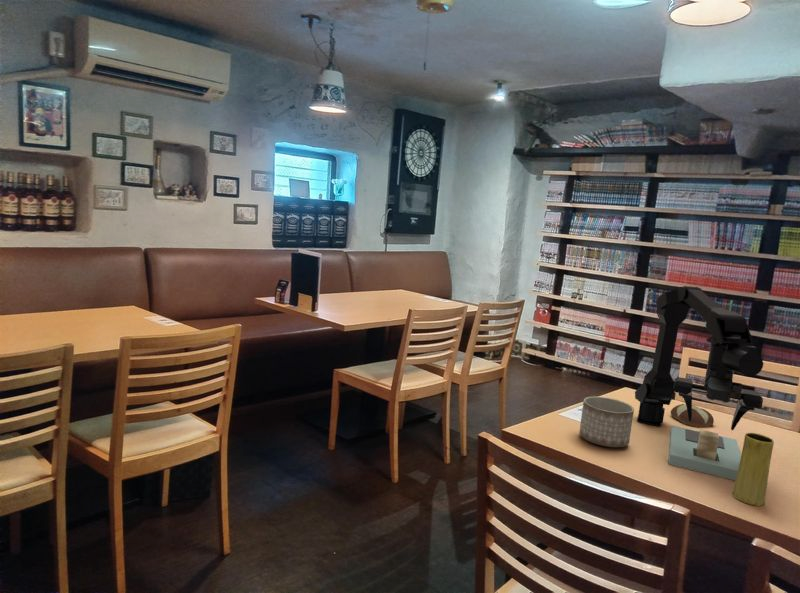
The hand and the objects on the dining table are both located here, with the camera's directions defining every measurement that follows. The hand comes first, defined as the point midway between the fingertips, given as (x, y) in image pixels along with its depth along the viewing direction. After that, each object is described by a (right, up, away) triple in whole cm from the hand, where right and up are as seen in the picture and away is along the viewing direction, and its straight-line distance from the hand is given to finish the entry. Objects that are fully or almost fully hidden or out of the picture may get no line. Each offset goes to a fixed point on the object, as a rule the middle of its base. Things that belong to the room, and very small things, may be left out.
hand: (710, 425), depth 134 cm
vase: (-1, -13, -15) cm, 20 cm away
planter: (-23, -7, +11) cm, 26 cm away
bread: (+13, -7, +33) cm, 37 cm away
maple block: (-1, -10, +1) cm, 10 cm away
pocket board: (+2, -10, +7) cm, 12 cm away
